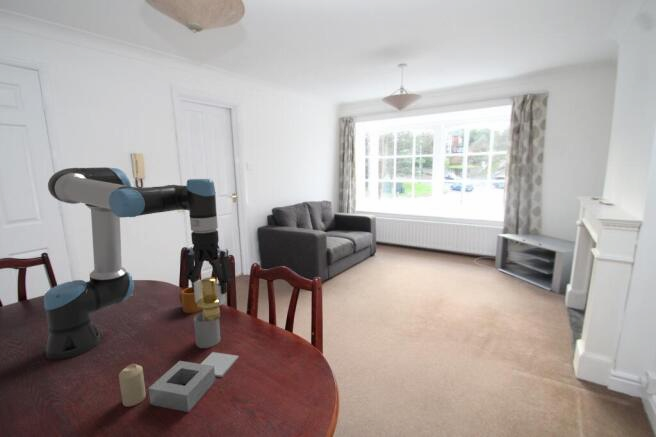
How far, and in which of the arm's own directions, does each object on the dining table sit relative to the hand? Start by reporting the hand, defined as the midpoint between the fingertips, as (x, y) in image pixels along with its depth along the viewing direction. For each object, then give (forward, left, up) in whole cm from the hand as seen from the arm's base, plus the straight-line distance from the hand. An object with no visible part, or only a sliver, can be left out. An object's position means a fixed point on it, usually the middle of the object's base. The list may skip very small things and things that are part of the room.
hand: (210, 301), depth 94 cm
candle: (-14, -18, -22) cm, 32 cm away
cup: (-11, +12, -22) cm, 28 cm away
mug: (-36, +35, -22) cm, 55 cm away
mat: (0, +1, -22) cm, 22 cm away
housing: (-2, -12, -22) cm, 25 cm away
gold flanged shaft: (0, 0, -6) cm, 6 cm away
